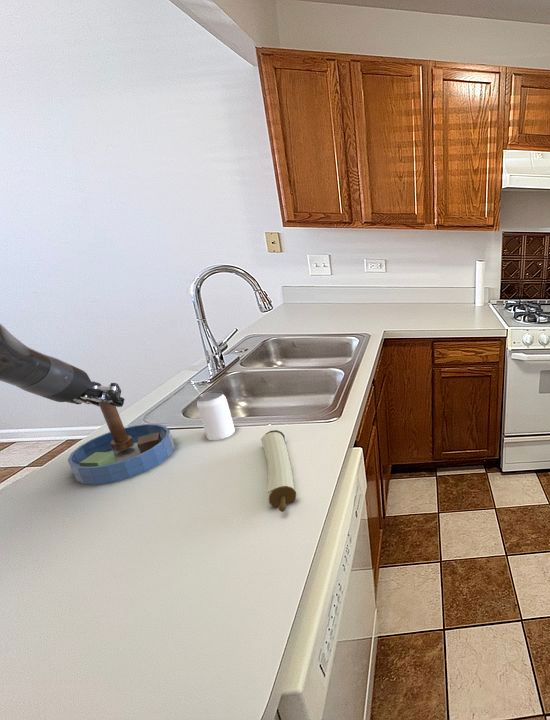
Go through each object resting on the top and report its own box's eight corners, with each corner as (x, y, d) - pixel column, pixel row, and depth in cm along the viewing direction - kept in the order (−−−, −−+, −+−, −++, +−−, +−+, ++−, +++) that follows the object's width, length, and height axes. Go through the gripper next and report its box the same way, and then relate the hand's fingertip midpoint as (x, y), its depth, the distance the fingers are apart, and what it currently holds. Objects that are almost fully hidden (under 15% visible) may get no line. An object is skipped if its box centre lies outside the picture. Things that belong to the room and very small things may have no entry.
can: (233, 426, 110) (222, 387, 106) (237, 436, 105) (226, 396, 101) (205, 434, 106) (193, 394, 102) (209, 445, 102) (196, 403, 97)
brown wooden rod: (109, 452, 95) (86, 396, 89) (119, 443, 99) (97, 389, 93) (129, 449, 96) (107, 394, 90) (137, 441, 100) (117, 387, 94)
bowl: (55, 493, 85) (46, 474, 83) (106, 446, 101) (98, 429, 99) (154, 479, 89) (147, 460, 87) (187, 436, 106) (181, 419, 104)
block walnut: (142, 458, 95) (137, 444, 94) (143, 450, 98) (138, 437, 97) (163, 453, 97) (158, 439, 96) (163, 445, 100) (158, 432, 99)
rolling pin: (300, 514, 79) (296, 494, 77) (269, 525, 76) (263, 504, 75) (286, 437, 105) (283, 420, 103) (263, 442, 103) (259, 426, 101)
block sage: (86, 477, 89) (79, 462, 87) (101, 466, 93) (95, 452, 91) (103, 477, 89) (97, 462, 87) (118, 466, 93) (113, 452, 91)
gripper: (94, 358, 82) (149, 386, 98) (17, 363, 80) (86, 390, 96) (84, 393, 79) (143, 416, 95) (3, 398, 77) (77, 421, 93)
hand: (114, 403), depth 95 cm, fingers closed on brown wooden rod, 2 cm apart
